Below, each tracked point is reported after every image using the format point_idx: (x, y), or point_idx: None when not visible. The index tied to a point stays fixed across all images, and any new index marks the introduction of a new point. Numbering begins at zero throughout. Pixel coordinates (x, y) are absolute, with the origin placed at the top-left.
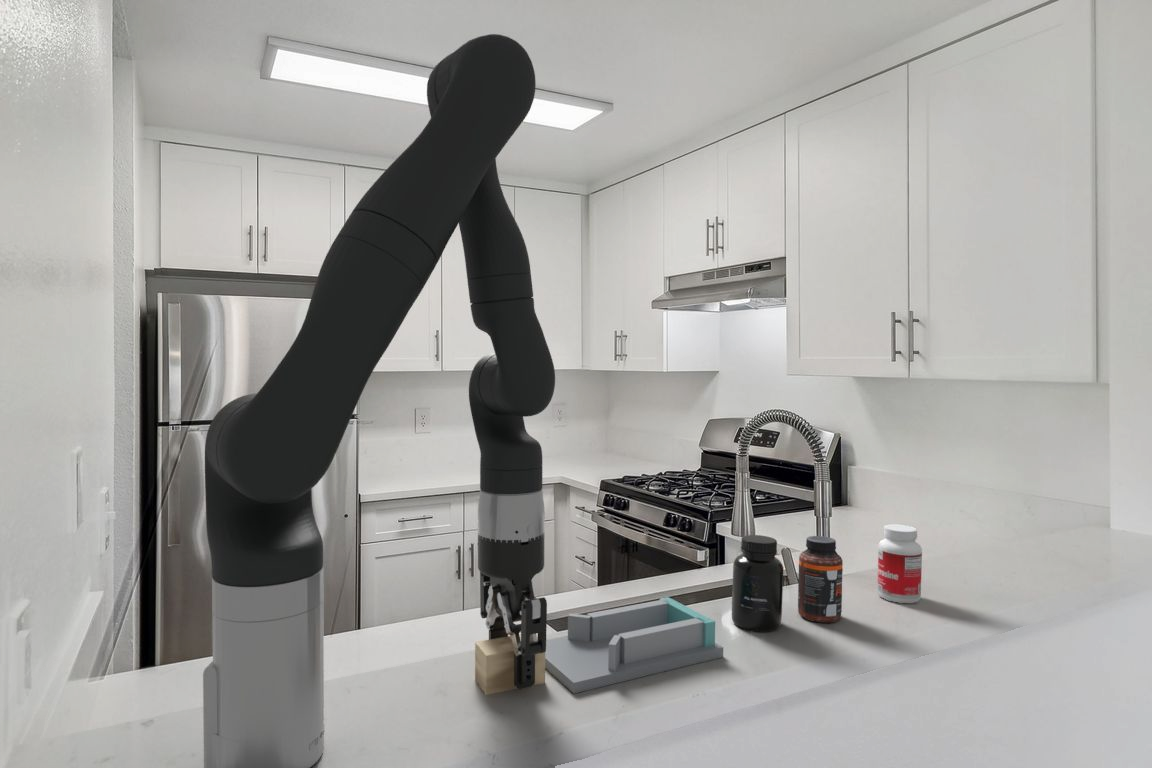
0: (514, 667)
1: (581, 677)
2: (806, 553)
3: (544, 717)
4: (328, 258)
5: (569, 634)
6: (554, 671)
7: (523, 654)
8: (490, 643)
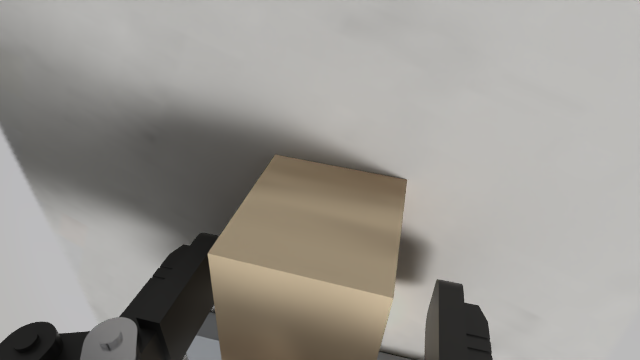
0: (183, 280)
1: (201, 354)
2: None
3: (102, 207)
4: None
5: None
6: None
7: (35, 330)
8: (332, 328)
